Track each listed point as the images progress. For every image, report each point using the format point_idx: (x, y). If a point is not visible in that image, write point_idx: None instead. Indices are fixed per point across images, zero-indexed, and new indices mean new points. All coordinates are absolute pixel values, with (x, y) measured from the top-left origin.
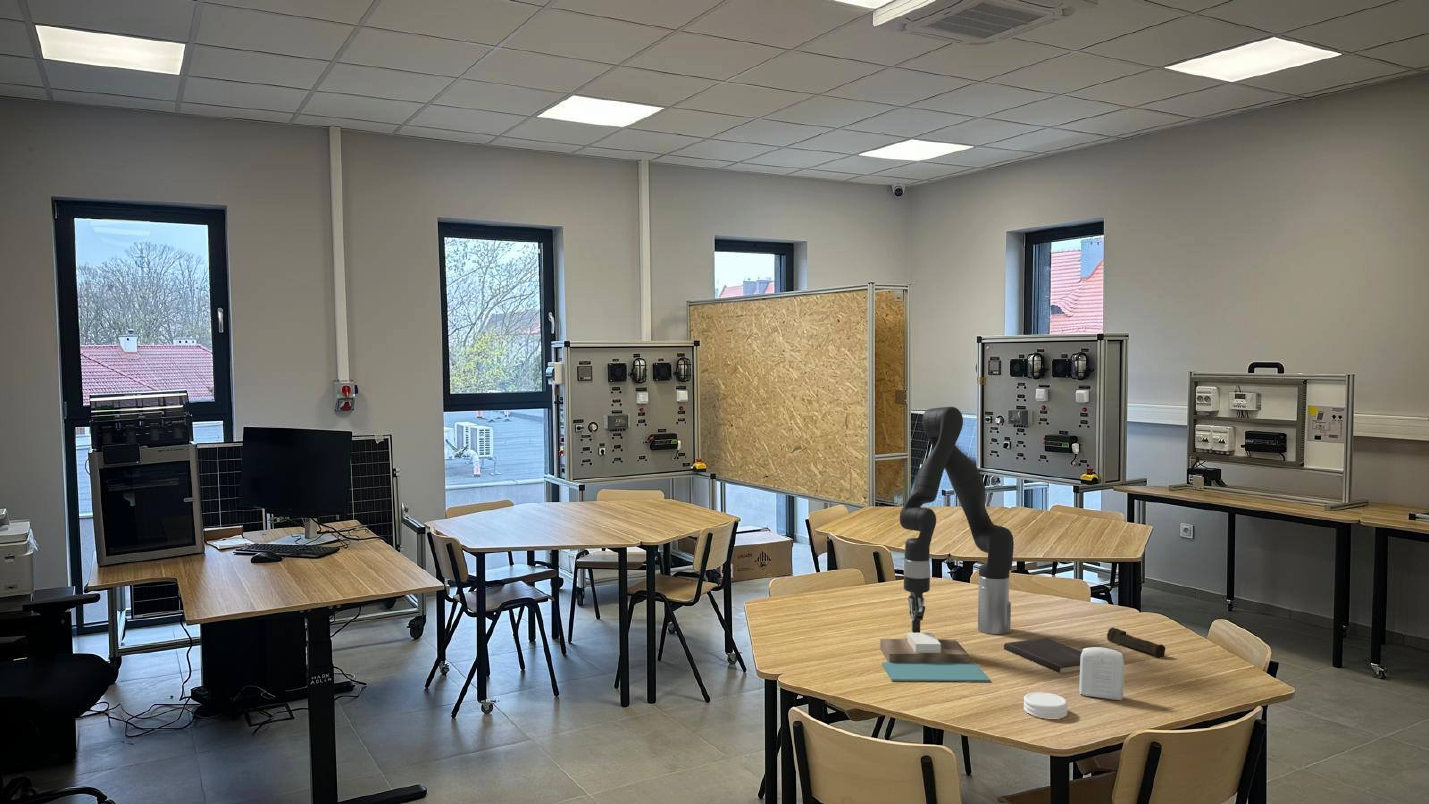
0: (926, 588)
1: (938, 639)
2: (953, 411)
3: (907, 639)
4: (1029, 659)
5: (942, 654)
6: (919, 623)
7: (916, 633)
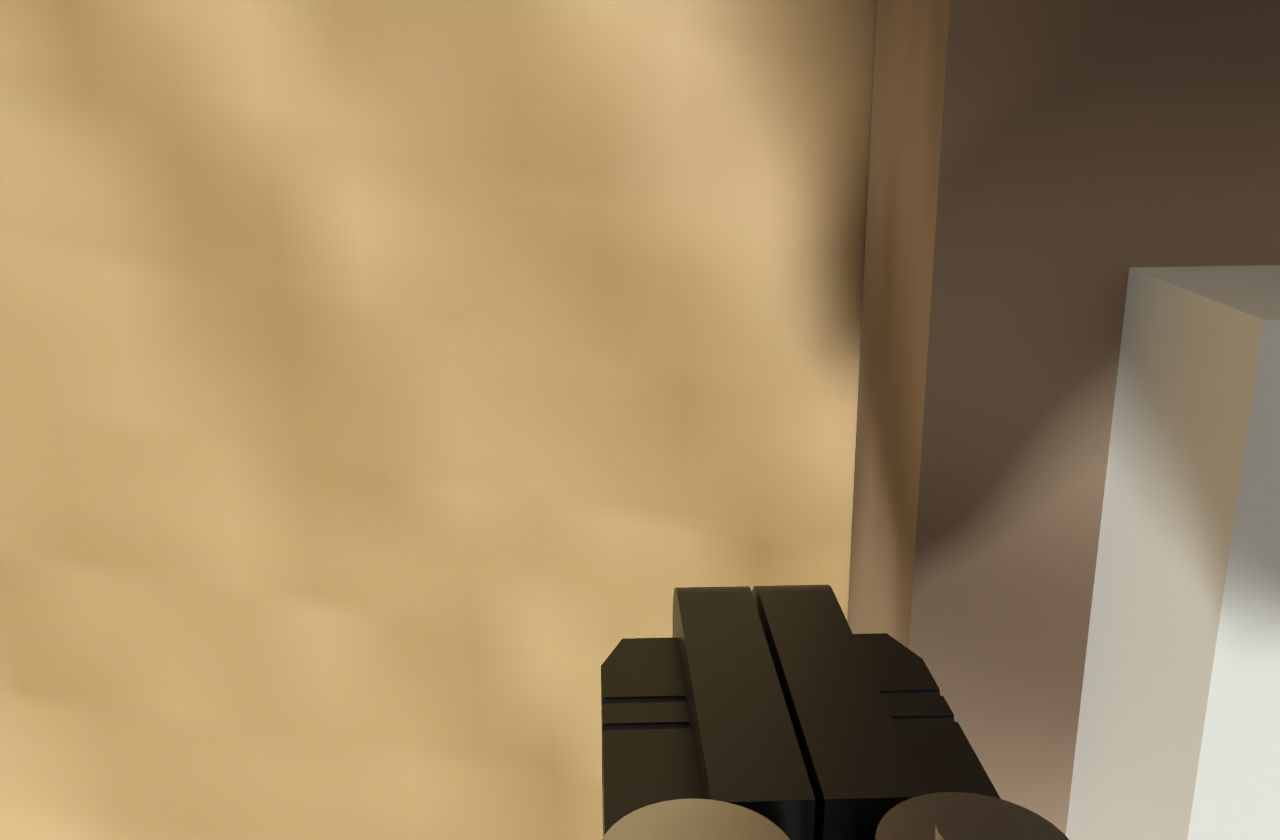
0: None
1: (971, 10)
2: None
3: None
4: None
5: None
6: (999, 798)
7: (1277, 806)
